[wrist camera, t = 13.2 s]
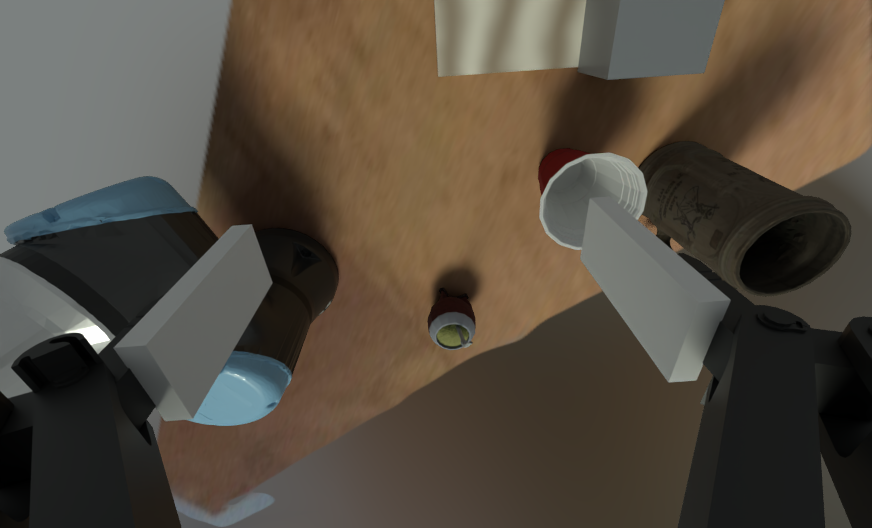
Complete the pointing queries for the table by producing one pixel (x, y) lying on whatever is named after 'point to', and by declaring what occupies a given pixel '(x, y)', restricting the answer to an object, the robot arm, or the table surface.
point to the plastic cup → (585, 190)
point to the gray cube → (647, 37)
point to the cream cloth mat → (507, 35)
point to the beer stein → (741, 220)
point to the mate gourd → (452, 322)
